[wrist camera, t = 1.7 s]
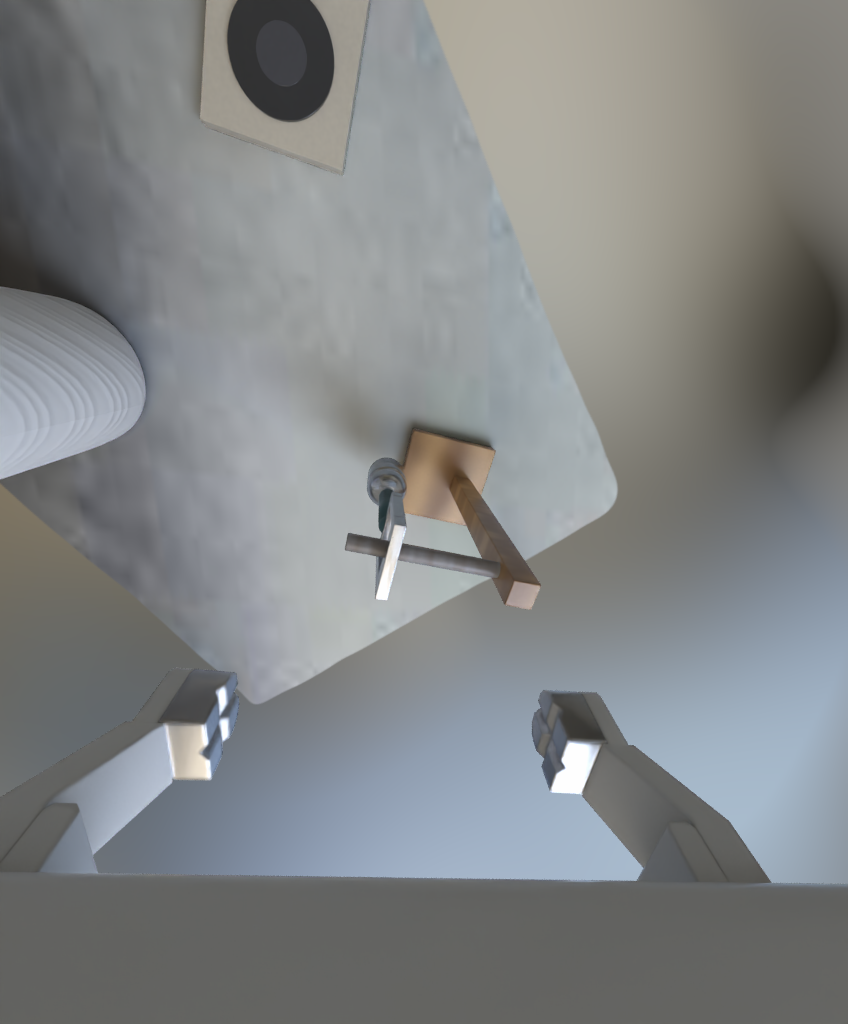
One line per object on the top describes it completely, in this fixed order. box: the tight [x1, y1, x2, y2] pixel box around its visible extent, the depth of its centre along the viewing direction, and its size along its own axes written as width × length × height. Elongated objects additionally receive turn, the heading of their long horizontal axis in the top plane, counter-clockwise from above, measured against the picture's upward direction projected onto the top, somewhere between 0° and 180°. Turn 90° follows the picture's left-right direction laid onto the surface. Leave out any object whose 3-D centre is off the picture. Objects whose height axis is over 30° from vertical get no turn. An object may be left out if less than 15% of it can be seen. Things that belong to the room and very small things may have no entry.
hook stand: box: [345, 428, 541, 609], centre depth 37 cm, size 15×10×25 cm, turn 75°
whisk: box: [367, 458, 407, 600], centre depth 36 cm, size 4×6×21 cm
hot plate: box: [200, 0, 370, 176], centre depth 34 cm, size 12×12×2 cm
